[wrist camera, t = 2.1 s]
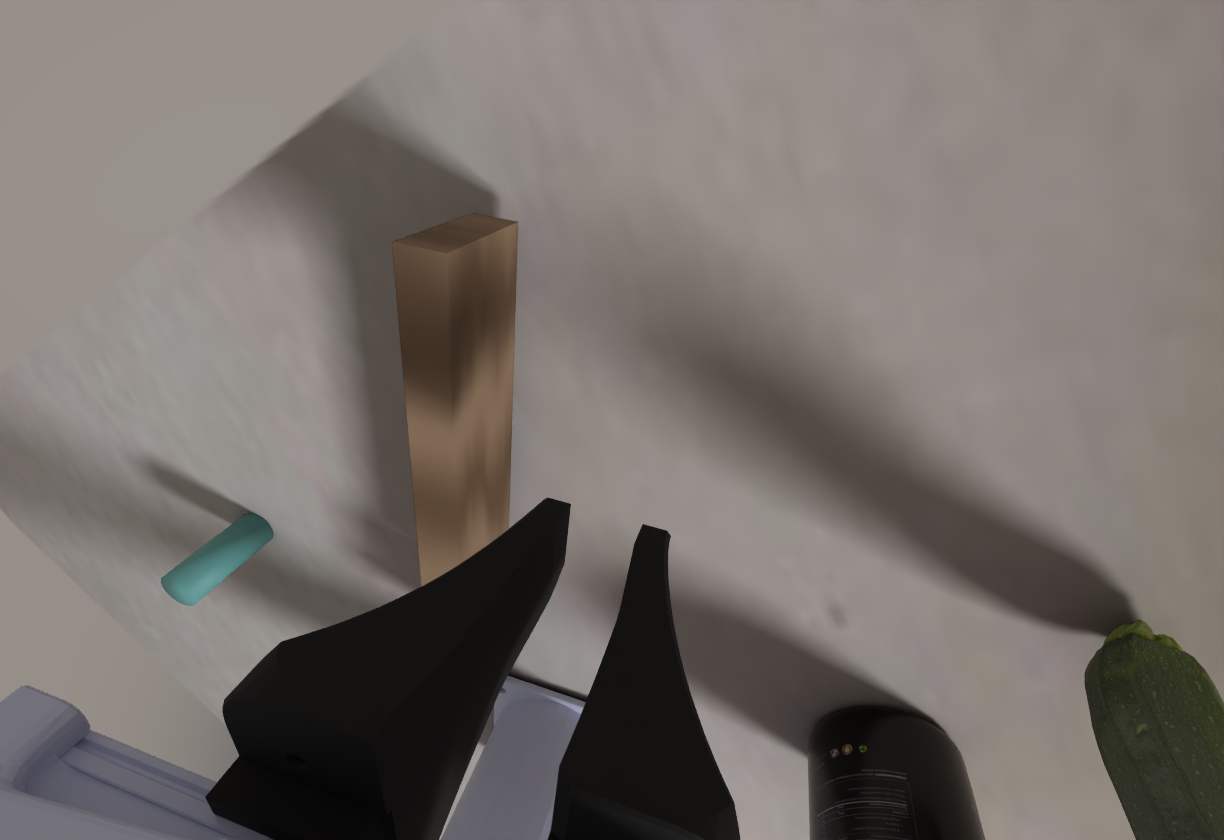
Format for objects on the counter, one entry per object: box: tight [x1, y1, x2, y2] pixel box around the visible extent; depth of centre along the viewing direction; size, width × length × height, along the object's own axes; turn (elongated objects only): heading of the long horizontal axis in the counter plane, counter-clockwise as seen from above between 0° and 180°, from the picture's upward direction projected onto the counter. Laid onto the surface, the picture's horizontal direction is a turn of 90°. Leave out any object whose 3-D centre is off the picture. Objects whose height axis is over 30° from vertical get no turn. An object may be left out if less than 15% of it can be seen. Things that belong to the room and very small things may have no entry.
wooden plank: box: [392, 213, 518, 587], centre depth 22 cm, size 21×2×6 cm, turn 173°
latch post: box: [161, 513, 273, 606], centre depth 30 cm, size 2×2×5 cm
